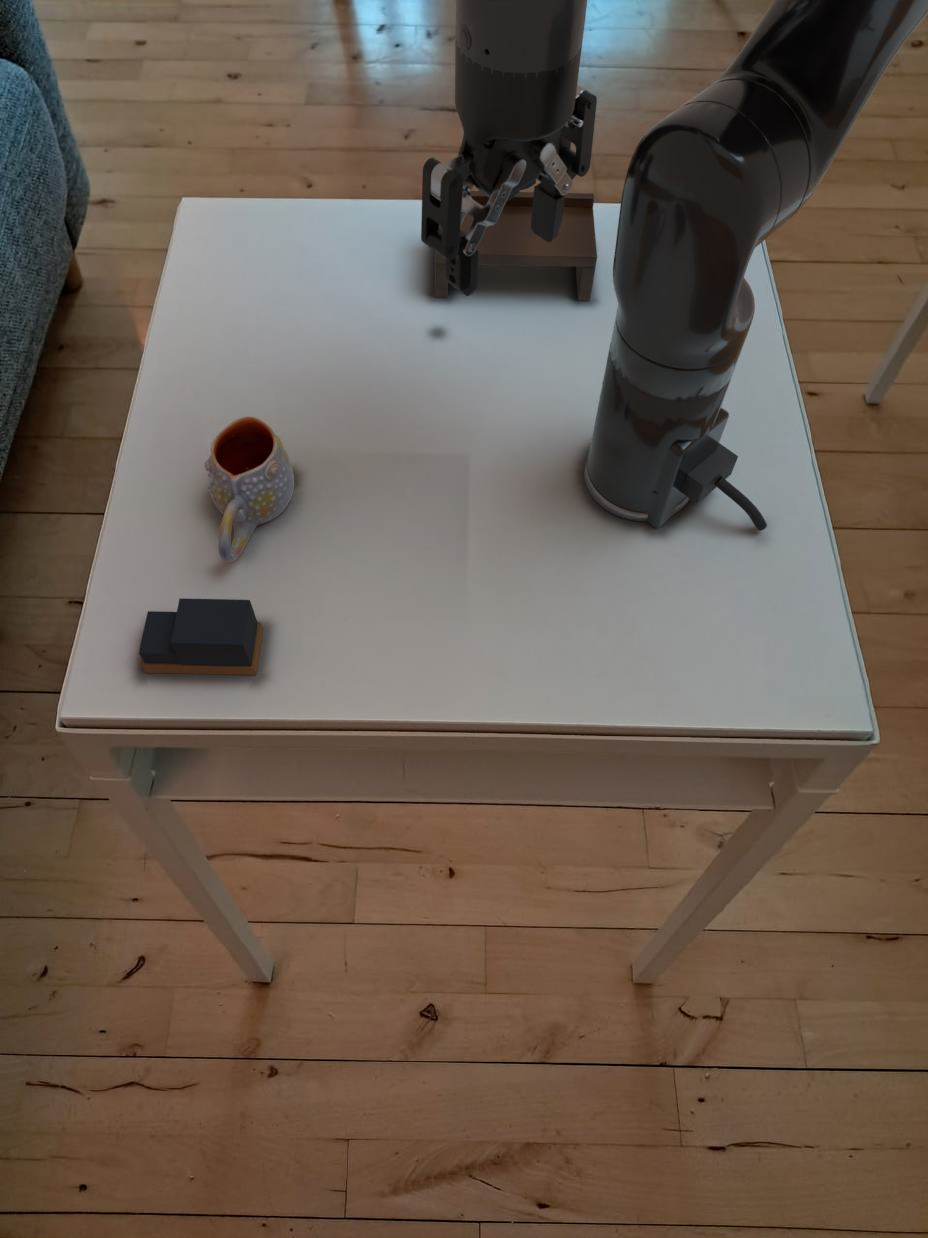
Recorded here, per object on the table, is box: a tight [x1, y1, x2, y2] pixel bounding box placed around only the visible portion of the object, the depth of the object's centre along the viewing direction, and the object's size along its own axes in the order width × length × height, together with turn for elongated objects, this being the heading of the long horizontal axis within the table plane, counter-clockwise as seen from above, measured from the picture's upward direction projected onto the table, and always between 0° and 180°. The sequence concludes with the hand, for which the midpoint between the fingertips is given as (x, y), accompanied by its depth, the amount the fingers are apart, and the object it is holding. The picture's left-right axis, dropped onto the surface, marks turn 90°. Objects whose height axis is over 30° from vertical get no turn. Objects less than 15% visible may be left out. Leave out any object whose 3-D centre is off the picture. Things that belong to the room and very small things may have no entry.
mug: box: [204, 416, 295, 563], centre depth 75 cm, size 12×7×7 cm, turn 170°
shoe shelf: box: [434, 190, 598, 302], centre depth 92 cm, size 15×8×6 cm, turn 89°
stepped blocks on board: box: [138, 598, 264, 676], centre depth 70 cm, size 8×4×5 cm, turn 89°
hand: (504, 261), depth 69 cm, fingers open, 8 cm apart
